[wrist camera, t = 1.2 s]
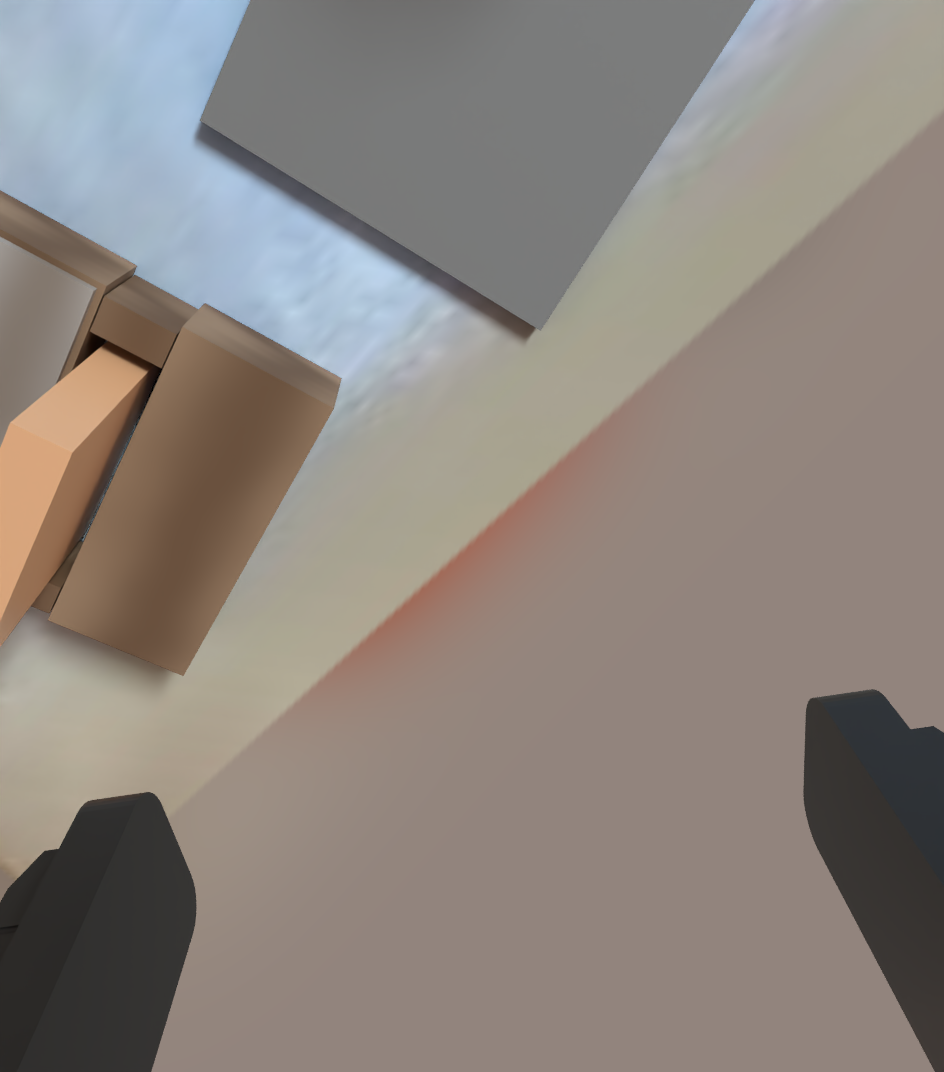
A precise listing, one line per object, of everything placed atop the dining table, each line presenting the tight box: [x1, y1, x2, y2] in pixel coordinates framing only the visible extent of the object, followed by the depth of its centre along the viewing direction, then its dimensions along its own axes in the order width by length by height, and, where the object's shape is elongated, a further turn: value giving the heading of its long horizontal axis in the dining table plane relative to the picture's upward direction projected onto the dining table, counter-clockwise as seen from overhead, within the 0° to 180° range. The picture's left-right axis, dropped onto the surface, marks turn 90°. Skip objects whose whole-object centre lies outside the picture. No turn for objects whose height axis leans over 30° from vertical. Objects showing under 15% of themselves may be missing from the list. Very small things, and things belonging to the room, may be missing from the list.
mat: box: [200, 0, 755, 331], centre depth 24 cm, size 12×12×1 cm
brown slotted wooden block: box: [0, 191, 342, 676], centre depth 28 cm, size 12×12×3 cm
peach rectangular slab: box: [0, 341, 161, 647], centre depth 26 cm, size 2×8×9 cm, turn 148°
